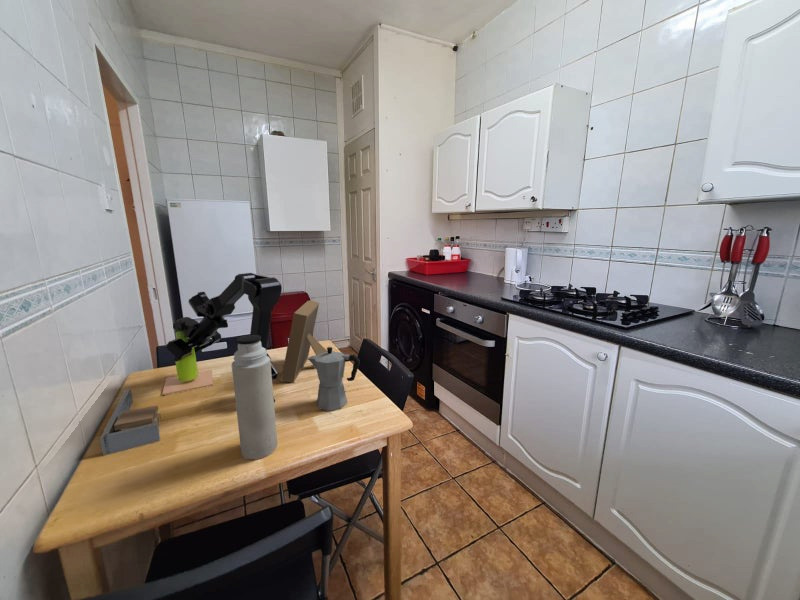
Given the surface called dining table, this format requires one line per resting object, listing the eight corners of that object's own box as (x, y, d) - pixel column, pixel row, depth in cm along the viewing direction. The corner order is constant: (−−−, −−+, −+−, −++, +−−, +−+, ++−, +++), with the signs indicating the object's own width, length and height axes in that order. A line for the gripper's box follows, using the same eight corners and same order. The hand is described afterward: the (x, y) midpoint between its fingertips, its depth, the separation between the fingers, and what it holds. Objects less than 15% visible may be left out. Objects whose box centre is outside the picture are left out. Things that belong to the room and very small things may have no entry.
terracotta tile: (212, 385, 109) (212, 383, 109) (162, 395, 102) (162, 394, 102) (212, 371, 121) (211, 369, 121) (166, 379, 114) (166, 377, 114)
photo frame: (281, 383, 111) (276, 313, 106) (297, 359, 132) (294, 300, 128) (324, 382, 112) (321, 313, 107) (333, 359, 133) (331, 300, 128)
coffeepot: (306, 411, 93) (302, 353, 90) (314, 395, 102) (311, 342, 99) (359, 411, 93) (357, 352, 90) (362, 395, 102) (361, 342, 99)
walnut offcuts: (158, 431, 84) (155, 417, 83) (116, 442, 79) (113, 426, 79) (161, 416, 91) (159, 402, 90) (123, 425, 86) (120, 411, 86)
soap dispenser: (183, 384, 107) (173, 326, 103) (175, 378, 111) (166, 322, 107) (202, 377, 111) (194, 322, 107) (194, 372, 116) (186, 319, 111)
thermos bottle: (250, 438, 81) (238, 332, 75) (281, 438, 81) (273, 331, 75) (235, 460, 73) (221, 343, 67) (270, 459, 73) (259, 342, 68)
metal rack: (159, 440, 80) (157, 424, 79) (103, 455, 74) (99, 438, 74) (170, 394, 103) (168, 381, 102) (127, 402, 98) (125, 389, 97)
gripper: (209, 304, 115) (186, 333, 119) (166, 316, 97) (140, 350, 101) (232, 325, 116) (208, 353, 119) (193, 342, 98) (166, 374, 101)
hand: (182, 357), depth 110 cm, fingers closed on soap dispenser, 6 cm apart
